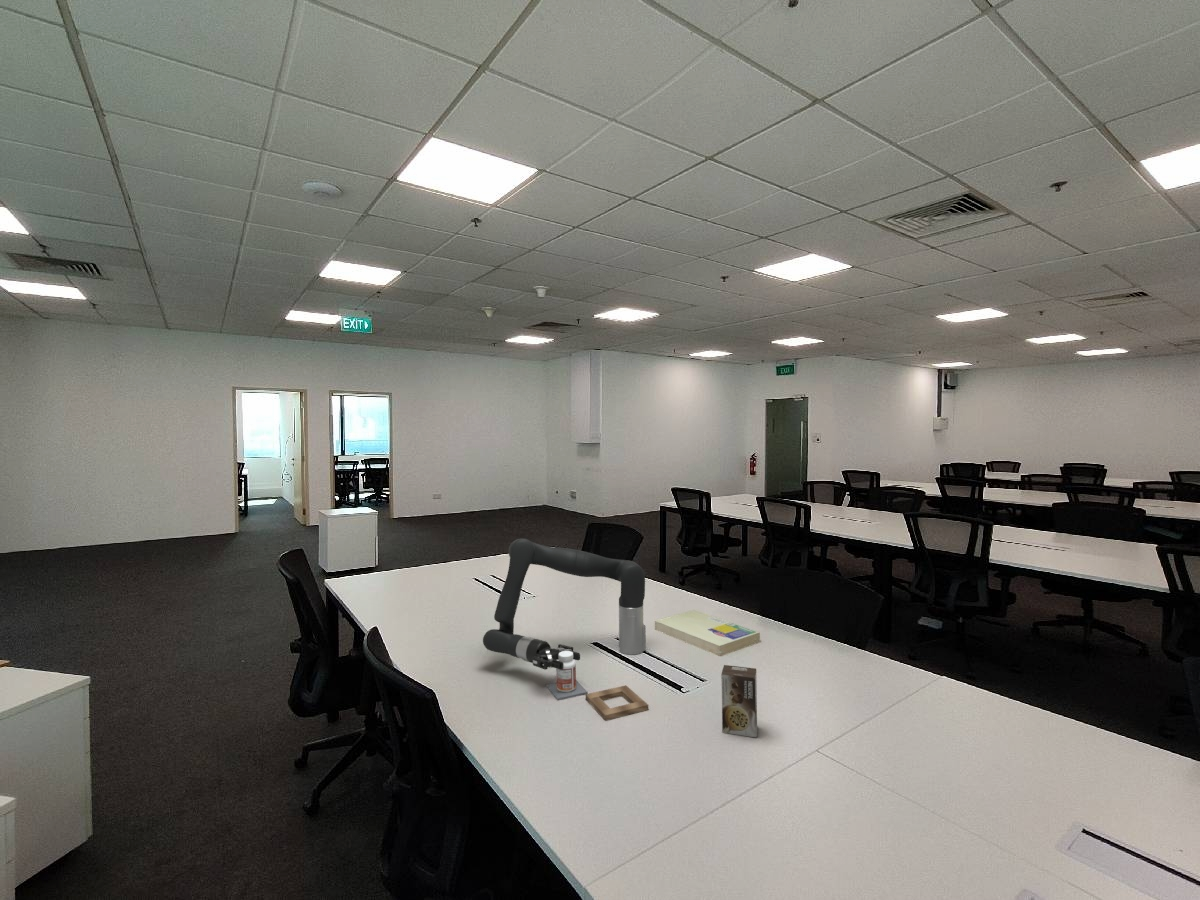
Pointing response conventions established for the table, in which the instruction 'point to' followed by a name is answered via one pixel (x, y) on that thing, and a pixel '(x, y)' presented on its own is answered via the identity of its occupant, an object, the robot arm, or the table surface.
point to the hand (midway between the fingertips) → (571, 661)
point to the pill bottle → (566, 672)
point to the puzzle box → (707, 632)
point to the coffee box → (739, 701)
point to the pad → (563, 695)
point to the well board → (611, 713)
